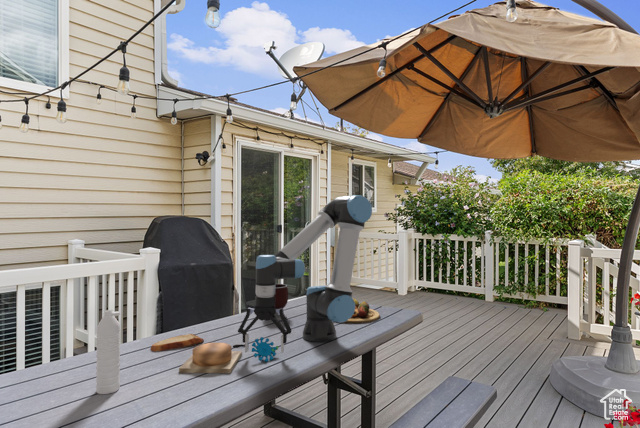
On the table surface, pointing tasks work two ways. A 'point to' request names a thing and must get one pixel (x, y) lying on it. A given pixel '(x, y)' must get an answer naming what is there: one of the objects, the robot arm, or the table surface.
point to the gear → (264, 349)
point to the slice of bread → (177, 342)
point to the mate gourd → (280, 298)
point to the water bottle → (108, 353)
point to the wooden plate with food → (362, 314)
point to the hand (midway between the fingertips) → (264, 351)
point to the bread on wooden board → (211, 359)
